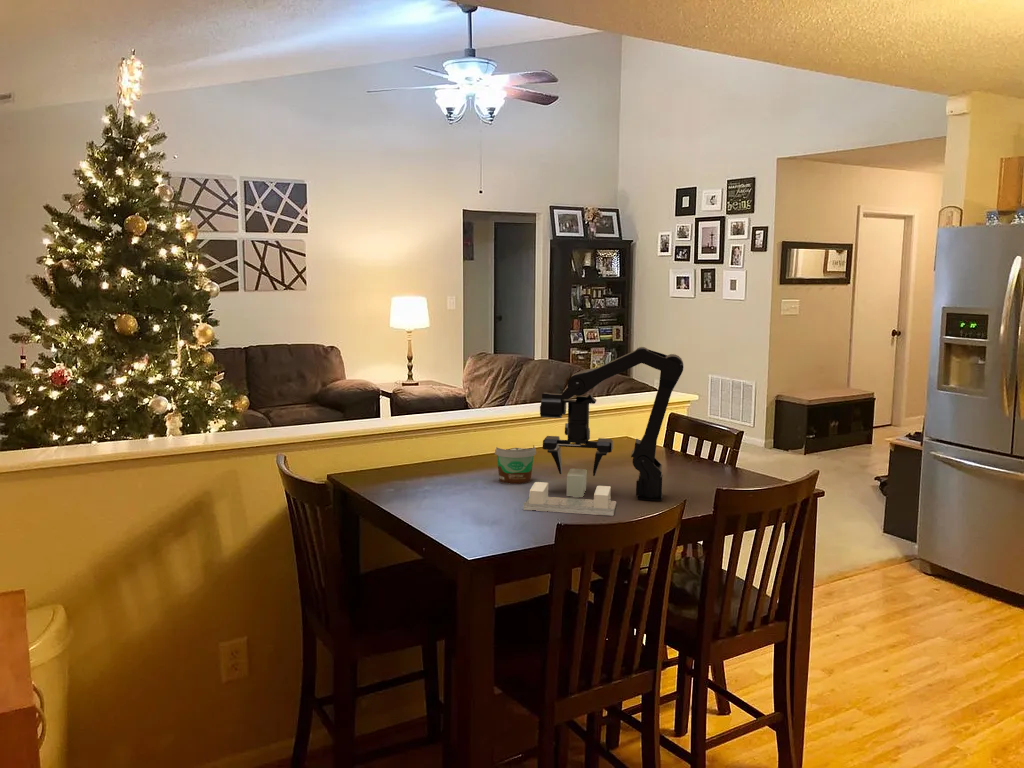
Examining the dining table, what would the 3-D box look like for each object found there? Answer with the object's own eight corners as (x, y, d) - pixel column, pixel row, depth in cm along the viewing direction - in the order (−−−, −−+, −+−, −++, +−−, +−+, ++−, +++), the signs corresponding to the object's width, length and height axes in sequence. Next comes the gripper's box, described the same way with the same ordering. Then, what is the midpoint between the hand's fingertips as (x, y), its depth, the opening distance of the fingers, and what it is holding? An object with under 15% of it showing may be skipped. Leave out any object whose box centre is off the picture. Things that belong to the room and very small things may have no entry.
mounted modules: (610, 501, 218) (610, 486, 217) (607, 511, 209) (608, 495, 209) (535, 496, 222) (535, 481, 221) (529, 505, 213) (529, 490, 212)
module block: (586, 490, 233) (586, 469, 232) (583, 498, 225) (583, 476, 224) (570, 489, 233) (570, 468, 233) (566, 496, 226) (566, 475, 225)
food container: (499, 486, 236) (499, 451, 234) (494, 480, 242) (494, 447, 240) (541, 483, 239) (541, 449, 238) (534, 478, 245) (535, 445, 243)
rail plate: (616, 504, 218) (616, 498, 218) (613, 515, 208) (613, 509, 208) (529, 499, 223) (529, 493, 222) (523, 509, 213) (523, 503, 213)
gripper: (614, 415, 232) (613, 469, 234) (548, 412, 236) (548, 466, 238) (612, 422, 221) (610, 479, 224) (542, 419, 225) (541, 475, 227)
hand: (577, 474), depth 228 cm, fingers open, 9 cm apart
